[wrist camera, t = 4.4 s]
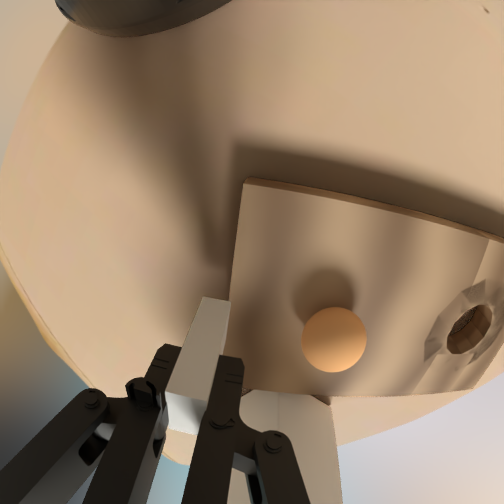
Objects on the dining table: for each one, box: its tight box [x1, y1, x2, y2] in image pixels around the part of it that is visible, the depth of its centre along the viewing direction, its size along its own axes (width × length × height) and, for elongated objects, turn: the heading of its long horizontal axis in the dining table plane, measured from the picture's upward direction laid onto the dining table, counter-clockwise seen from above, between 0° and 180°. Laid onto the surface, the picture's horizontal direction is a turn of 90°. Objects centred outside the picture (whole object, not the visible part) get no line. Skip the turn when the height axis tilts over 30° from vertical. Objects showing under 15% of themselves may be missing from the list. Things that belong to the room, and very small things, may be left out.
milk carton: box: [227, 389, 343, 504], centre depth 15 cm, size 7×7×19 cm
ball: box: [301, 307, 367, 372], centre depth 15 cm, size 4×4×4 cm
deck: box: [223, 177, 504, 397], centre depth 17 cm, size 24×14×2 cm, turn 82°
